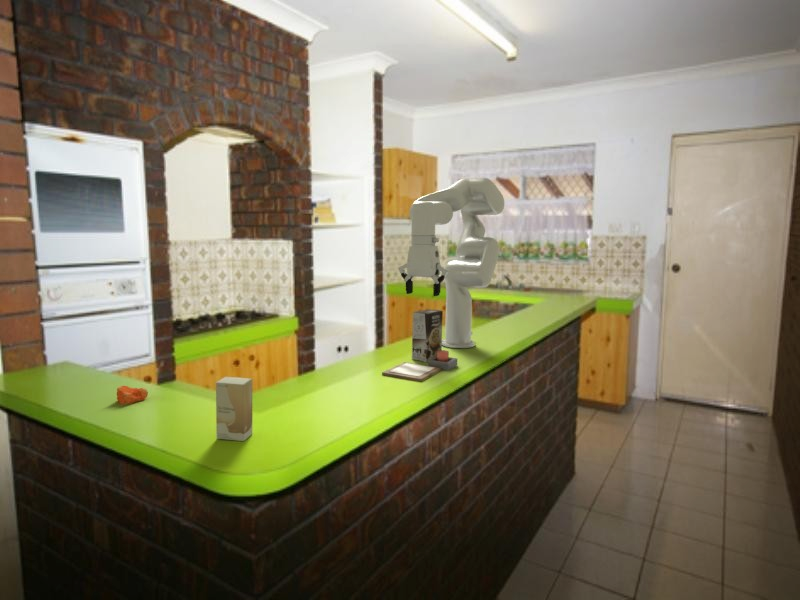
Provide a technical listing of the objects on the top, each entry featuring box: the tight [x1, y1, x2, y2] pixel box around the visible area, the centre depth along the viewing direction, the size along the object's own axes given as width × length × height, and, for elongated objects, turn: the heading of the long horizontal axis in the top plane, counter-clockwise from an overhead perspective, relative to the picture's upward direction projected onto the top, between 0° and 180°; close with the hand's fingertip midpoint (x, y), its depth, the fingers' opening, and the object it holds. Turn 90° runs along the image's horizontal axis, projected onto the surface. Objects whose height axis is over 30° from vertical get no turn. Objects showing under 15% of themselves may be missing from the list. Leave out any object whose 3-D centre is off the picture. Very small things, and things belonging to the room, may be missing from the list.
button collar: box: [427, 356, 458, 372], centre depth 166 cm, size 7×7×2 cm
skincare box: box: [215, 376, 253, 442], centre depth 109 cm, size 6×4×12 cm
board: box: [381, 361, 443, 382], centre depth 159 cm, size 14×13×1 cm
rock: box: [116, 385, 149, 406], centre depth 131 cm, size 12×12×4 cm
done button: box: [437, 350, 450, 362], centre depth 166 cm, size 4×4×3 cm
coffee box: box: [411, 308, 444, 363], centre depth 175 cm, size 9×6×16 cm
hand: (422, 294), depth 169 cm, fingers open, 9 cm apart
